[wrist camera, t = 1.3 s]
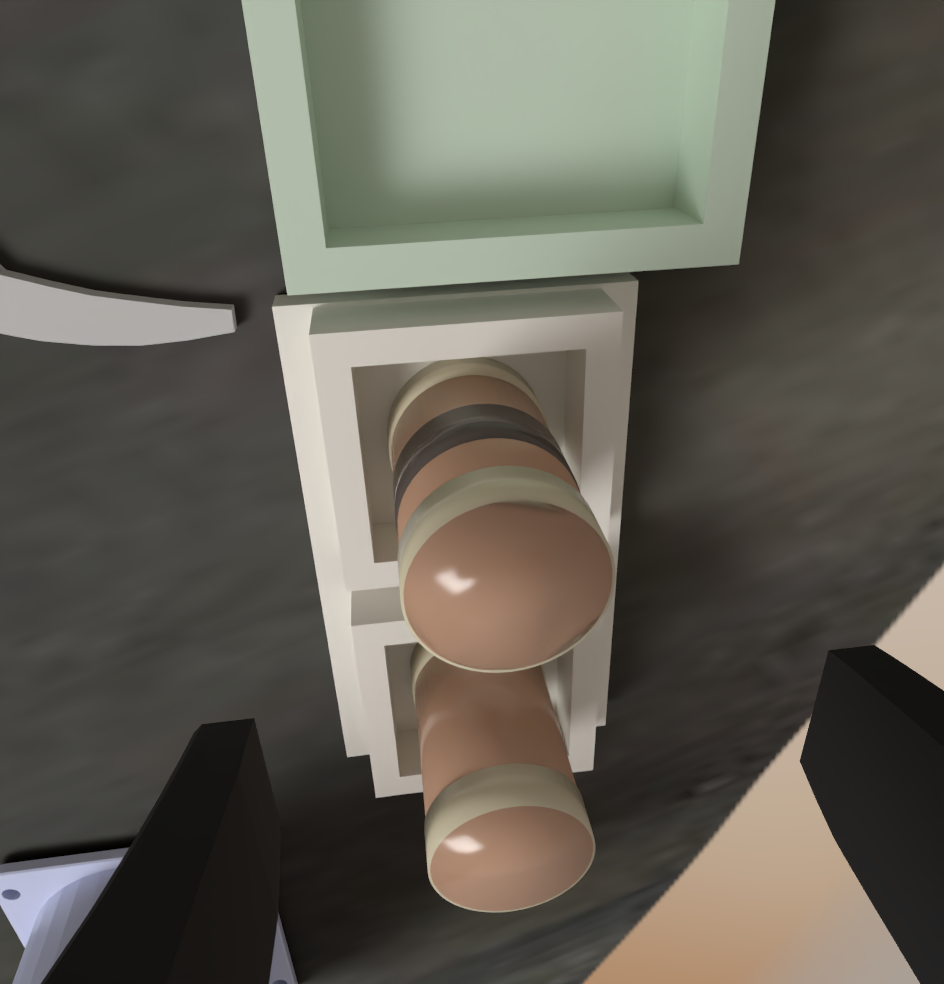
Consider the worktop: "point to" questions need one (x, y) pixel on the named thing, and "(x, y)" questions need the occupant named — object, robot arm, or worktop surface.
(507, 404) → the cylinder
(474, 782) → the fuse
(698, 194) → the tray
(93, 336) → the pliers
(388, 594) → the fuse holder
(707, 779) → the worktop surface
